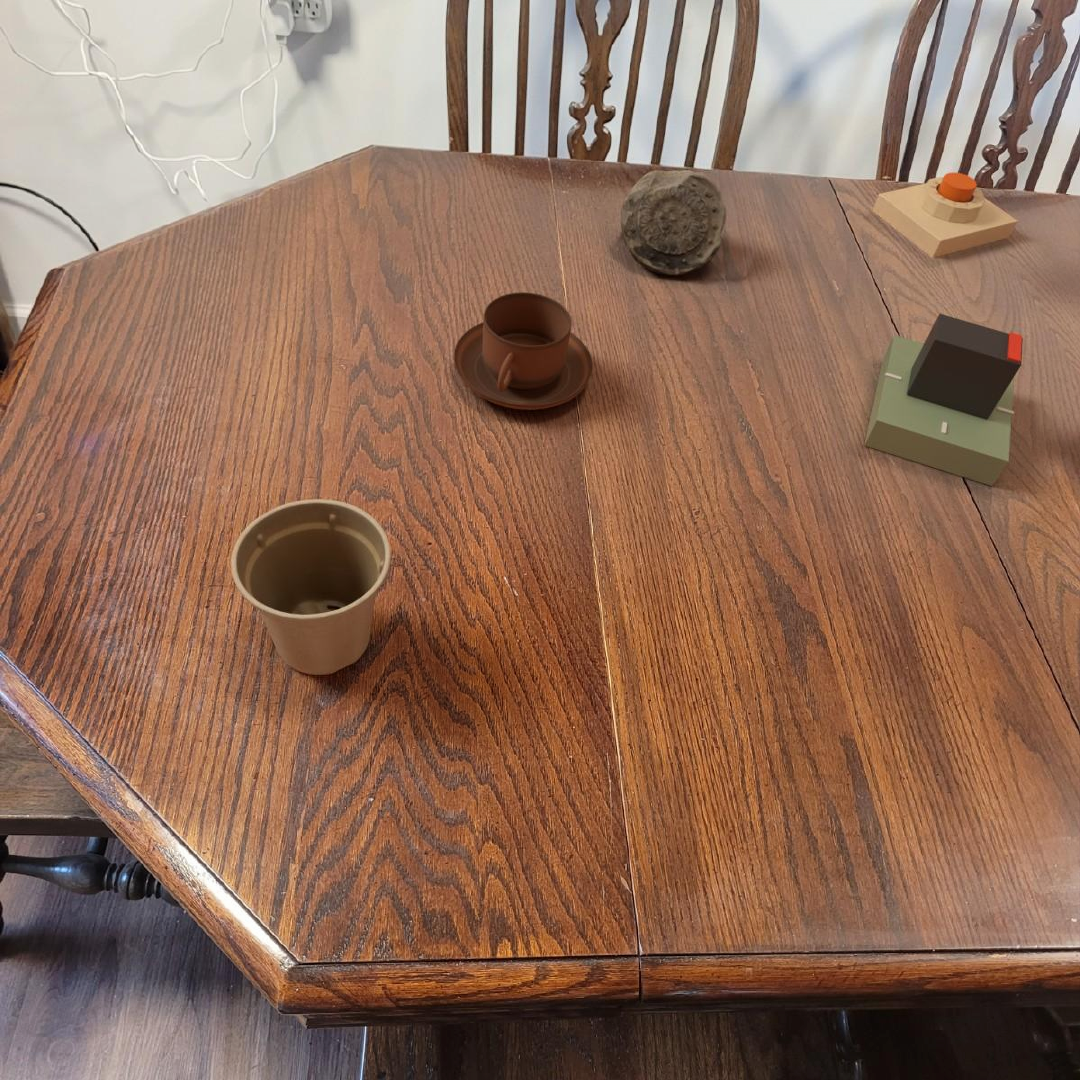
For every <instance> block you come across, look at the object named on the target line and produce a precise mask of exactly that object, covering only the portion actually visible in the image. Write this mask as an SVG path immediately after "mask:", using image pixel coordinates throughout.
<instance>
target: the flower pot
mask: <svg viewBox="0 0 1080 1080" xmlns="http://www.w3.org/2000/svg"><path fill="white" fill-rule="evenodd" d="M391 552H392V550H391V544H390V540H389V538H388V535H387V533H386V531H385V529H384V528H383V527H382V526H381V524H380V523H379V522H378V521H377V520H376V519H375V518H374V517H373V516H372V515H371V514H369V513H368V512H367V511H365V510H363V509H361V508H360V507H358V506H355V505H353V504H350V503H347V502H345V501H340V500H336V499H335V500H334V499H324V498H313V499H312V498H311V499H309V498H308V499H300V500H295V501H291V502H287V503H284V504H281V505H278V506H276V507H274V508H272V509H270V510H268V511H265V512H264V513H263V514H261V515H260V516H259V515H258V517H257V518H255V519H254V520H252V522H250V523H249V524H248V525H247V526H246V527H245V529H244V530H243V531H242V532H241V533H240V534H239V536H238V538H237V539H236V541H235V543H234V547H233V549H232V552H231V559H230V572H231V577H232V579H233V583H235V587H236V589H237V590H238V592H239V593H240V594H241V596H242V597H243V598H244V599H245V600H246V601H247V602H248V603H249V604H251V606H253V607H254V608H255V609H256V610H257V611H258V612H259V614H260V616H261V618H262V620H263V622H264V625H265V627H266V629H267V631H268V633H269V635H270V637H271V640H272V642H273V644H274V647H275V650H276V653H277V654H278V655H279V656H280V658H281V659H282V661H283V662H284V663H286V664H287V666H289V667H290V668H292V669H294V671H298V672H300V673H303V674H308V675H315V676H324V675H332V674H334V673H336V672H338V671H339V670H342V669H344V668H346V667H348V666H350V665H353V664H355V663H356V662H357V661H358V660H359V659H360V658H361V657H362V656H363V654H364V652H365V651H366V650H367V648H368V646H369V642H370V640H371V639H370V638H371V628H372V622H373V617H374V609H375V604H376V598H377V594H378V592H379V590H380V588H381V587H382V586H383V584H384V582H385V580H386V578H387V576H388V573H389V571H390V566H391V559H392V553H391ZM328 607H331V608H332V607H334V608H338V609H335V610H333V609H328Z"/></svg>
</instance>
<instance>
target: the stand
mask: <svg viewBox="0 0 1080 1080" xmlns="http://www.w3.org/2000/svg"><path fill="white" fill-rule="evenodd" d="M923 345H924V343H923V342H919V341H917V340H914V339H913V340H912V339H909V338H906V337H903V336H900V335H895V334H894V335H893V337H892V339H891V341H890V344H889V346H888V348H887V349H886V352H885V354H884V356H883V358H882V361H881V364H880V365H881V366H880V370H879V375H878V380H877V384H876V389H875V393H874V397H873V402H872V406H871V412H870V416H869V420H868V424H867V425H868V426H867V431H866V434H865V440H864V444H863V445H864V446H865V447H868V448H871V449H874V450H876V451H881V452H883V453H886V454H889V455H892V456H896V457H899V458H902V459H906V460H908V461H911V462H915V463H917V464H921V465H924V466H927V467H931V468H933V469H938V470H940V471H943V472H946V473H949V474H952V475H956V476H958V477H962V478H965V479H968V480H971V481H974V482H978V483H981V484H984V485H987V486H990V487H993V485H995V483H996V481H997V480H998V479H999V477H1000V476H1001V474H1002V472H1003V471H1004V469H1005V468H1006V467H1007V465H1008V463H1009V461H1010V448H1011V434H1012V433H1011V432H1012V416H1014V414H1015V411H1014V410H1013V398H1014V384H1015V383H1014V382H1015V381H1014V379H1015V377H1014V378H1013V379H1012V381H1011V383H1010V384H1009V386H1008V387H1007V389H1006V391H1005V392H1004V394H1003V396H1002V397H1001V399H1000V400H999V402H998V404H997V405H996V407H995V409H994V410H993V412H992V413H991V415H990V417H989V418H988V419H984V418H981V417H978V416H974V415H971V414H968V413H965V412H961V411H958V410H955V409H952V408H948V407H945V406H942V405H939V404H935V403H932V402H929V401H926V400H923V399H919V398H916V397H913V396H910V395H907V390H908V385H909V380H910V374H911V369H912V366H913V365H914V363H915V361H916V359H917V357H918V355H919V353H920V351H921V349H922V347H923Z"/></svg>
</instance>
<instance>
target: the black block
mask: <svg viewBox="0 0 1080 1080" xmlns="http://www.w3.org/2000/svg"><path fill="white" fill-rule="evenodd" d="M1023 342H1024V338H1023V335H1022V334H1018V333H1015V332H1012V331H1010V332H1009V333H1007V332H1005V331H1002V330H999V329H994V328H990V327H987V326H984V325H980V324H977V323H973V322H970V321H966V320H963V319H960V318H957V317H953V316H950V315H946V314H943V313H939V314H938V315H937V317H936V319H935V321H934V323H933V325H932V327H931V329H930V331H929V333H928V335H927V336H926V339H925V341H924V343H923V344H924V345H923V347H922V349H921V351H920V353H919V355H918V357H917V359H916V361H915V363H914V365H913V366H912V369H911V374H910V380H909V385H908V390H907V395H910V396H913V397H916V398H919V399H923V400H926V401H929V402H932V403H935V404H939V405H942V406H945V407H948V408H952V409H955V410H958V411H961V412H965V413H968V414H971V415H974V416H978V417H981V418H984V419H988V418H989V417H990V415H991V413H992V412H993V410H994V409H995V407H996V405H997V404H998V402H999V400H1000V399H1001V397H1002V396H1003V394H1004V392H1005V391H1006V389H1007V387H1008V386H1009V384H1010V383H1011V381H1012V379H1013V378H1014V379H1015V377H1016V374H1017V373H1018V371H1019V369H1020V368H1021V367H1022V360H1023V359H1022V358H1023Z"/></svg>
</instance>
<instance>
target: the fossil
mask: <svg viewBox="0 0 1080 1080" xmlns="http://www.w3.org/2000/svg"><path fill="white" fill-rule="evenodd" d="M726 219H727V208H726V206H725V204H723V201H722V195H721V191H720V188H719V186H718V185H717V184H716V182H715V181H714V180H713V179H712V178H711V177H710V176H709V175H707V174H705V173H702V172H696V171H694V170H689V169H682V170H678V169H674V170H656V169H654V170H652V171H649V172H647V173H646V174H644V175H643V176H641V178H639V180H637V182H636V183H635V184H634V185H633V187H632V188H631V189H629V192H628V193H627V194H626V196H625V198H624V200H623V202H622V205H621V210H620V228H621V237H622V239H623V242H624V244H625V245H626V246H627V249H628V251H629V253H630V255H631V257H632V258H633V260H634V261H635V262H636V263H638V264H640V266H642V267H644V268H645V269H647V270H648V271H651V272H653V273H656V274H658V275H662V276H667V277H670V276H671V277H676V276H683V275H687V274H690V273H693V272H695V271H697V270H699V269H701V268H702V267H705V266H706V264H708V263H709V262H710V261H711V260H712V259H713V258H714V257H715V256H716V255H717V254H718V252H719V250H720V248H721V247H722V234H723V230H724V226H725V225H726Z"/></svg>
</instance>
